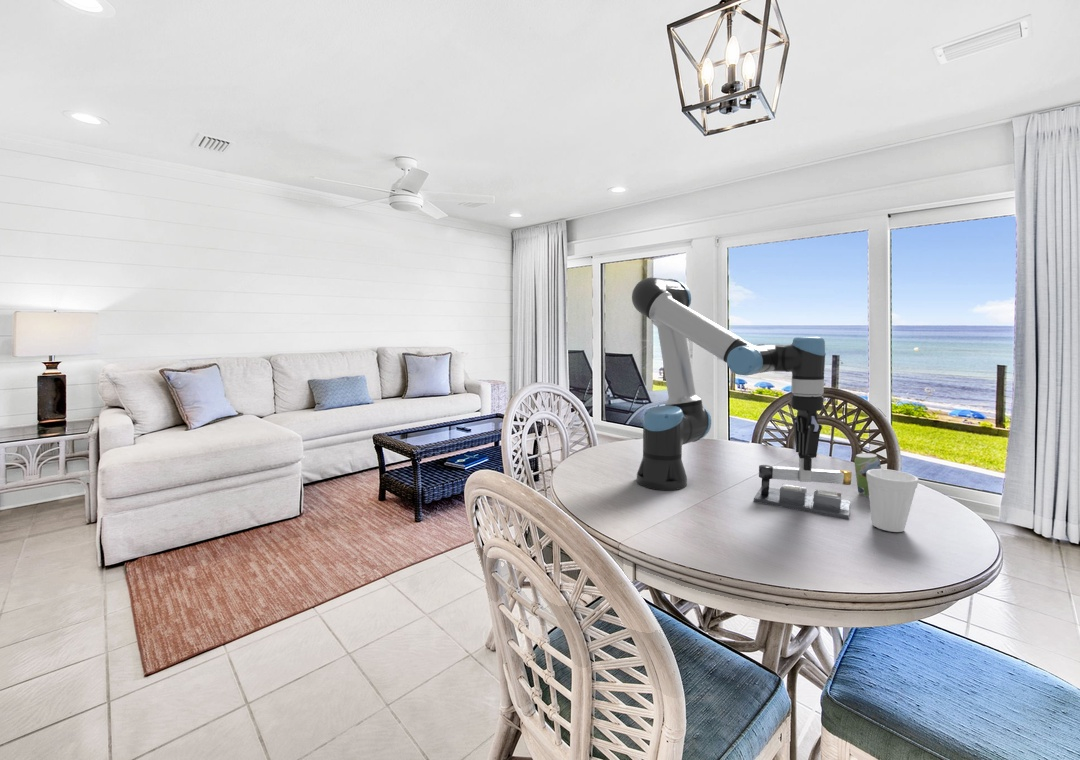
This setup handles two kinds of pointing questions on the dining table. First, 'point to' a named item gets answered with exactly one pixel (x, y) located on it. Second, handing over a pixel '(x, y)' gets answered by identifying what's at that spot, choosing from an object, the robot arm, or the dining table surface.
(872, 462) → the beverage can
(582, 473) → the dining table surface
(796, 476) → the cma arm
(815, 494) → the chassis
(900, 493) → the cup
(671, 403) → the robot arm
